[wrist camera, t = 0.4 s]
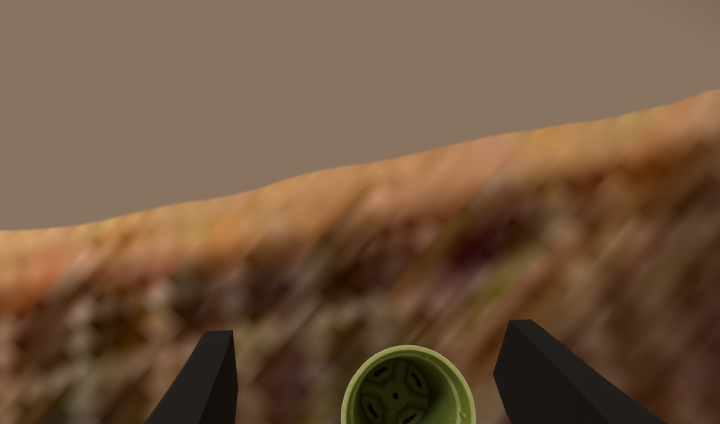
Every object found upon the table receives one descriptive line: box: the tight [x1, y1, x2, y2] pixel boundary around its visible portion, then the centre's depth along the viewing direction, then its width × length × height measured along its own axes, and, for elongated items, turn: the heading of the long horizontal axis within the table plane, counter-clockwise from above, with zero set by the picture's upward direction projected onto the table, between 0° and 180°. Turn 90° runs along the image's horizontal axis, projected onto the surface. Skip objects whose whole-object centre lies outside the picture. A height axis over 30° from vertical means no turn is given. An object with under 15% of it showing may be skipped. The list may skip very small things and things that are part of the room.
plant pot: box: [341, 345, 476, 424], centre depth 33 cm, size 9×9×9 cm
